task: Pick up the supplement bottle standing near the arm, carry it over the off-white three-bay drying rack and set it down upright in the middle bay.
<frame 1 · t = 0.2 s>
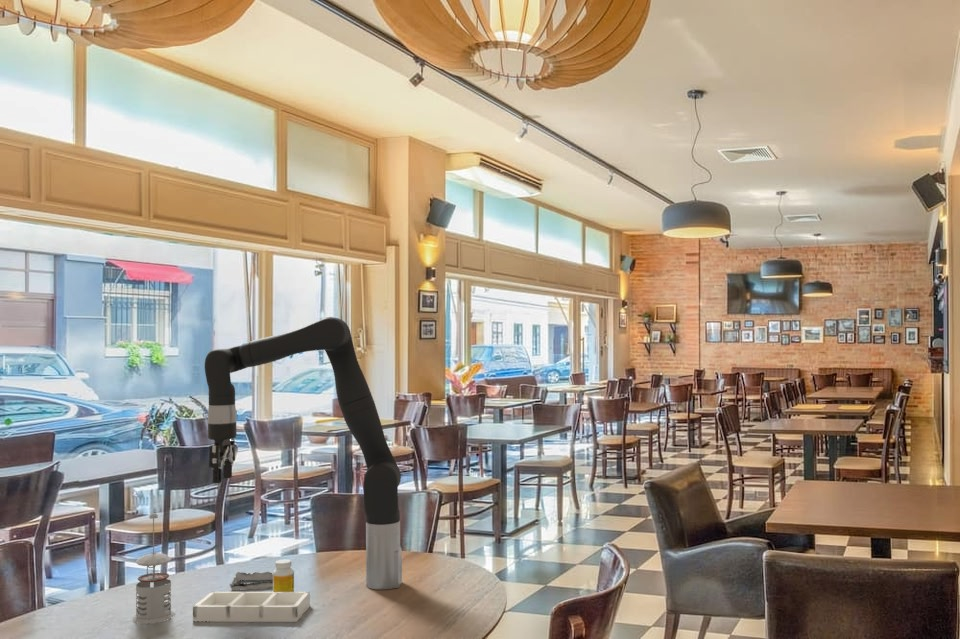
hand: (222, 480, 226), 29 cm above the table, tool pointing down, fingers open, 8 cm apart
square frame: (256, 587, 225), on the table
supplement bottle: (283, 599, 213), on the table
rack: (252, 613, 201), on the table
french press: (153, 616, 200), on the table
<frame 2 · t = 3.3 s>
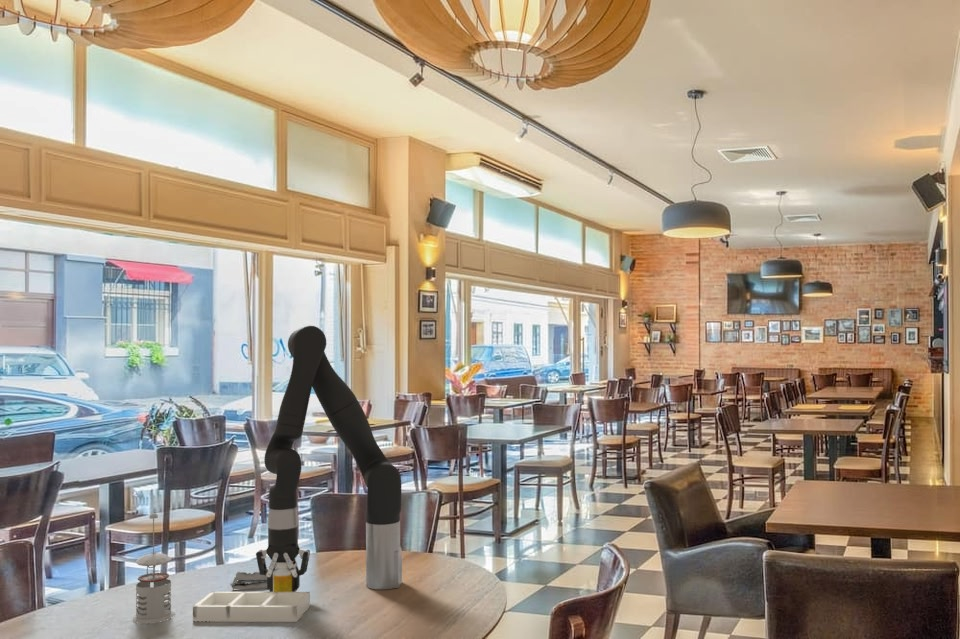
hand: (283, 590, 213), 2 cm above the table, tool pointing down, fingers closed on supplement bottle, 5 cm apart
supplement bottle: (283, 599, 213), on the table, touching gripper
everything else where it was.
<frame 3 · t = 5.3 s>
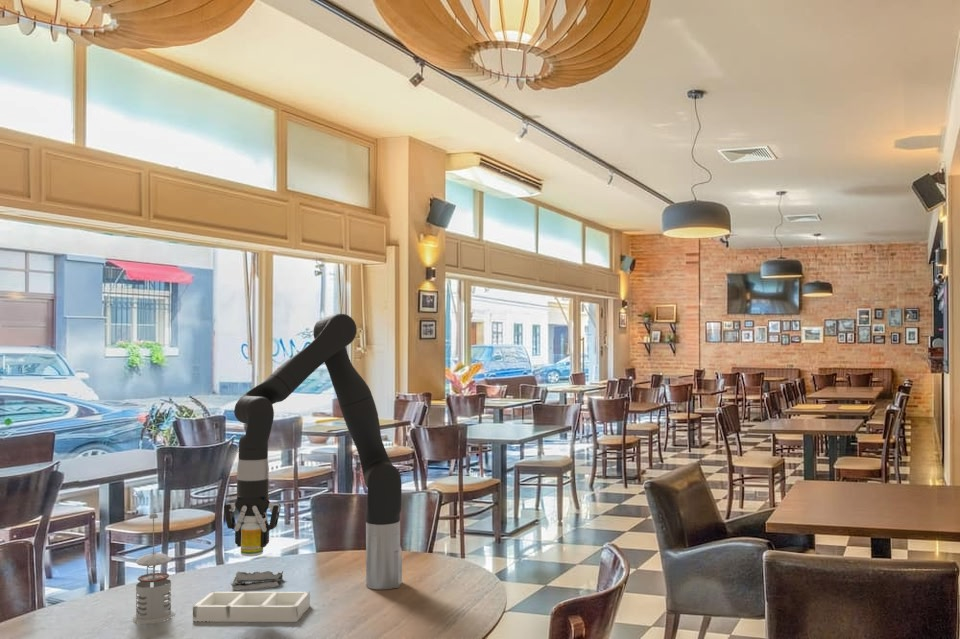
hand: (251, 545, 203), 16 cm above the table, tool pointing down, fingers closed on supplement bottle, 5 cm apart
supplement bottle: (251, 555, 202), point 14 cm above the table, touching gripper
everything else where it was.
when the fingers open (4 cm above the table, at t = 7.2 s): supplement bottle drops 1 cm, resting on rack.
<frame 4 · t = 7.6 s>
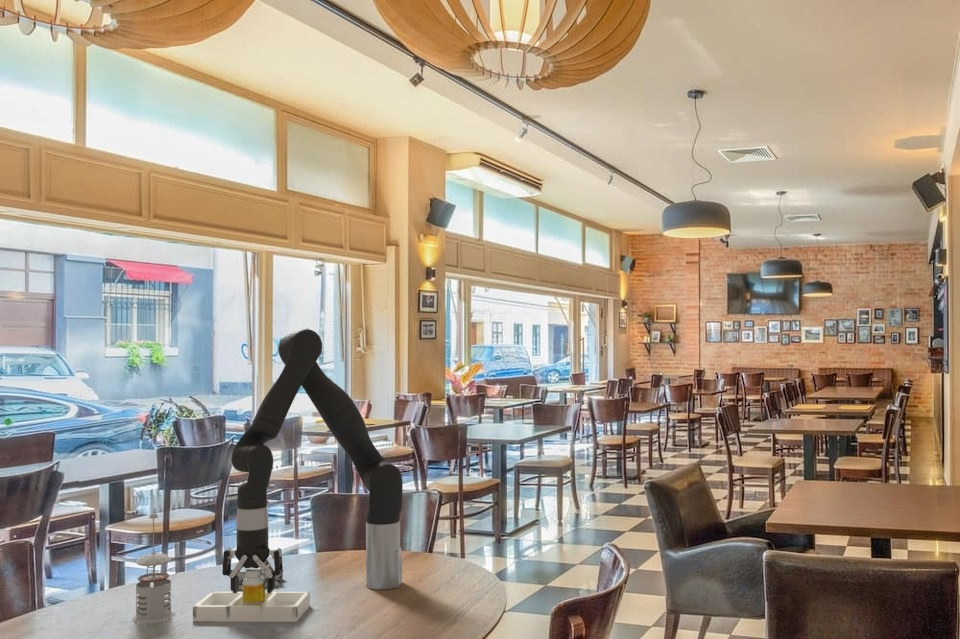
hand: (252, 592, 201), 5 cm above the table, tool pointing down, fingers open, 8 cm apart
supplement bottle: (253, 610, 201), point 1 cm above the table, touching rack
everything else where it was.
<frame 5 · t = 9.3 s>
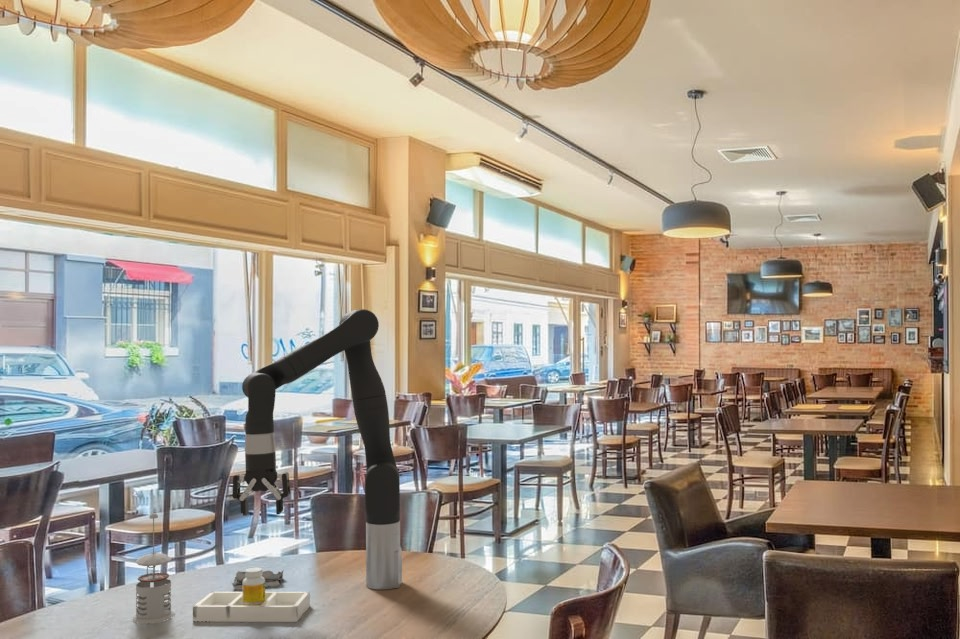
hand: (262, 514, 210), 22 cm above the table, tool pointing down, fingers open, 8 cm apart
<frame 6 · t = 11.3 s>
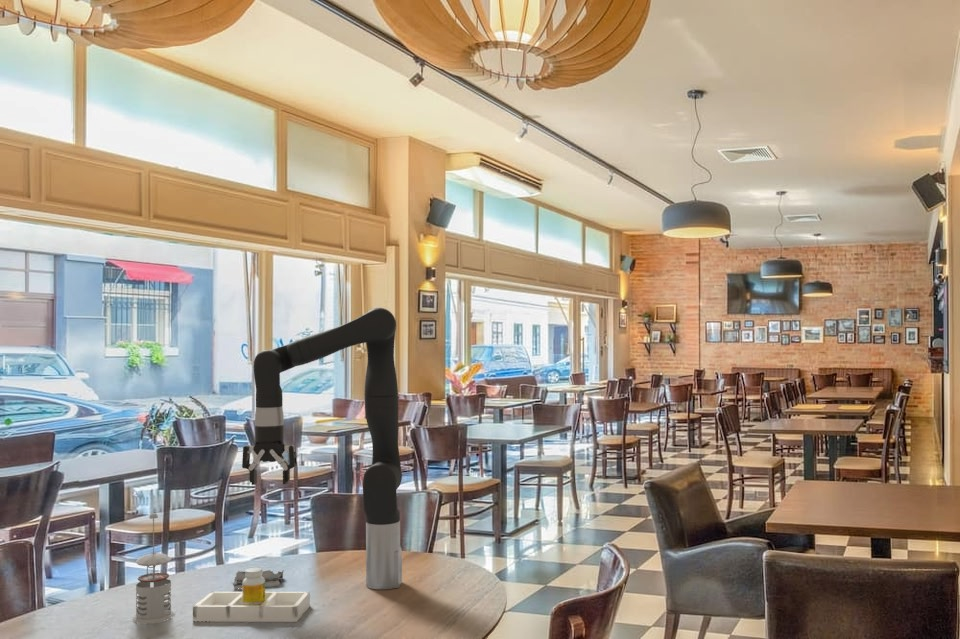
hand: (269, 484, 222), 28 cm above the table, tool pointing down, fingers open, 8 cm apart
at the end: supplement bottle inside the target area on the rack (0.2 cm from its centre), point 0.8 cm above the rack's base; supplement bottle tilted 0°; the gripper is holding nothing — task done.
